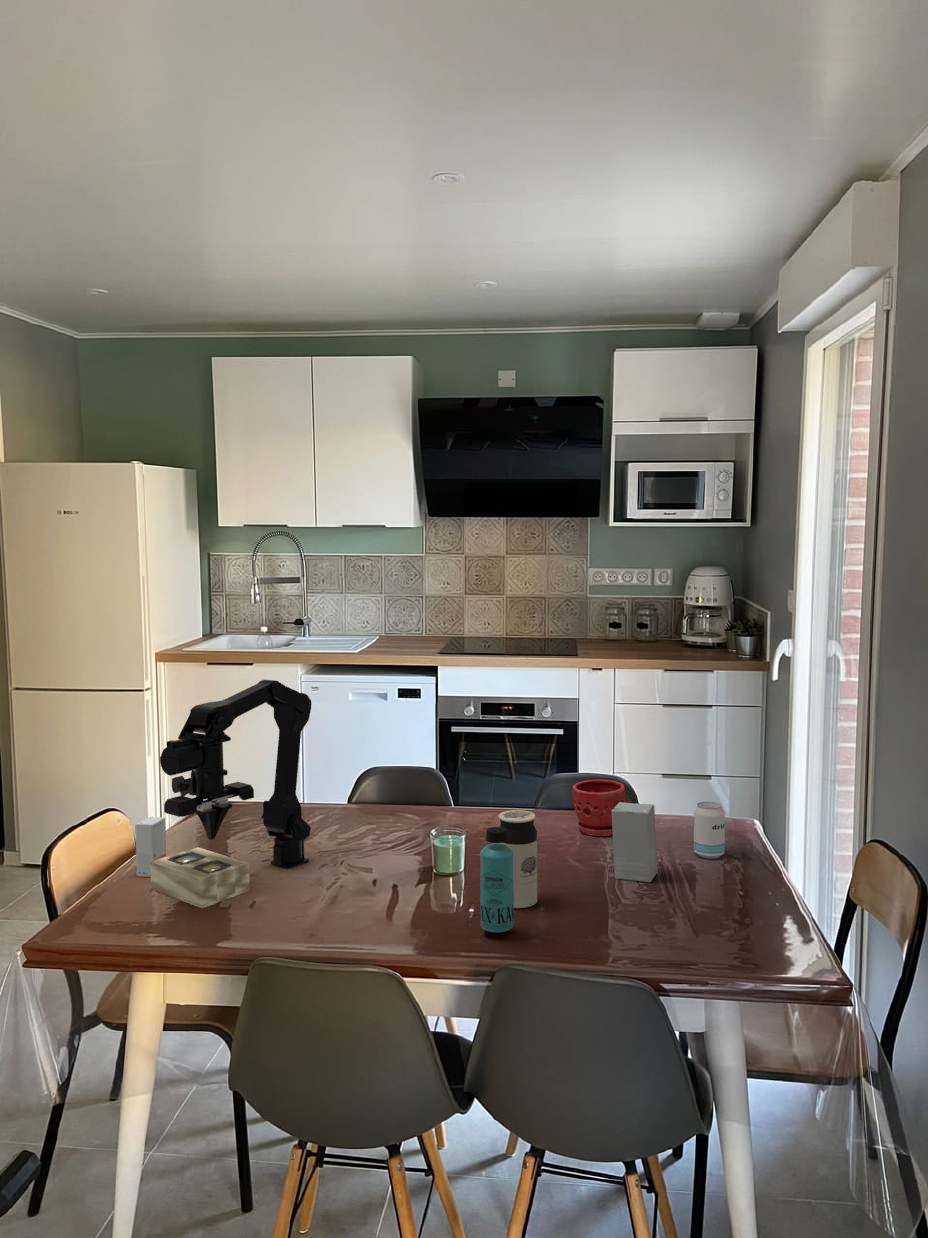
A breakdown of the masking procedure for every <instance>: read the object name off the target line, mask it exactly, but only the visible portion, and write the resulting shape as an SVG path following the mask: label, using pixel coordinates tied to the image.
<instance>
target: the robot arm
mask: <svg viewBox="0 0 928 1238" xmlns="http://www.w3.org/2000/svg"><path fill="white" fill-rule="evenodd" d="M264 704H267V705H268V706H270V707H271V708H273V718H274V722H275V723H276V726H277V728H278V742H277V744H278V745H277V751H276V752H277V754H276V765H275V779H274V786H273V787H274V788H273V793H272V795H271V797H270V798H269V799H268V800H264V801H263V802H262V803H263V805H262V807H263V810H262V814H261V815H262V816H261V817H260V818H261V819H262V821H263V822H262V823H263V826H264V827H265V828H266V832H267V834H268V836H269V837H274V840H273V842H274V844H273V846H272V850H273V860H270V864H272V865H275V866H279V867H282V868H285V869H291V868H295V867H298V866H300V865H303V864H306V863H308V862H310V859H309V858H307V857H305V840H306V838H309V837H310V834H311V829H312V827H311V826H310V825H309V824H308V823H307V822H306V821H305V820H304V819H303V816H302V805H301V803H300V800H299V799H298V796H297V783H298V773H299V772H298V771H299V761H300V760H299V759H300V751H301V749H300V748H301V737H302V731H303V730H304V729H305V727H306V725H307V723H308V722H309V721H310V720H309V719H310V716H311V711H312V699H311V698H310V697H309V695H308V694H307V693H304V692H300V691H297V690H296V689H293V688H291V687H288V686H286V685H285V684H284V683H282V682H280V681H279V680H273V679H262V680H260V681H258V682H257V683H256V684H253V685H252V686H250V687H248V688H246V689H244V690H241V691H239V692H237V693H235V694H233V695H231V696H229V697H227V698H224V699H222V700H218V701H217V700H216V701H209V702H208V701H207V702H205V703H204V702H203V703H200V704H196V705H194V706H193V707H192V708H191V709H190V710H189V711H190V713H189V714H188V717H187V719H186V721H185V723H184V725H183V727H182V729H181V731H180V733H179V735H178V737H177V739H176V740H173V739H172V740H171V739H170V740H167V741H166V747H165V748H163V749H162V751H161V752H160V753H161V754H160V756H159V763H160V768H161V769H162V771H163V772H164V773H165V775H168V776H170V777H172V776H175V775H179V774H180V776H175V777H173V778H171V790H172V792H173V793H174V794H177V793H180V794H179V795H178V796H174V797H171V798H167V799H166V801H165V802H164V804H163V811H164V814H168V815H172V816H175V817H178V818H183V817H187V816H191V815H194V814H196V816H198V819H199V820H200V822H201V824H202V827H203V829H204V831H205V834H206V836H207V838H208V840H209V841H210V840H212V841H213V840H214V839H216V836H217V834H218V832H219V831H220V830H219V829H220V827H221V825H222V823H223V820H225V818H226V815H227V814H228V812H229V811H230V809H231V808H233V804H232V803H229V799H232V798H235V797H239V799H240V800H241V801H247V800H251V799H254V797H255V790H254V787H253V786H252V785H251V784H249V783H245V782H239V781H236V782H231V783H227V784H225V776H228V770H227V769H224V743H226V742H230V741H231V737H230V736H229V735H228V734H226V732H225V731H226V730H227V729H228V728H230V727H231V726H232V725H233V723H234V721H235V720H236V719H237V718H239V717H240V716H242V715H244V714H246V713H248V712H250V711H252V710H254V709H256V708H258V707H260V706H262V705H264ZM187 772H190V777H188V778H184V776H183V775H181V774H183V773H187ZM186 795H188V796H192V797H187V796H186ZM193 796H195V797H193Z"/></svg>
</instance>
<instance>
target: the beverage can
mask: <svg viewBox="0 0 928 1238" xmlns="http://www.w3.org/2000/svg"><path fill="white" fill-rule="evenodd" d="M725 815H726V813H725V811H724V809H723V805H722V804H721V803H720V802H715V801H698V802H697V804H696V807H695V809H694V810H693V851H694V853H695V854H697V855H698V857H699V858H702V859H708V860H715V859H716V860H717V859H719V858H720V857H721V856H722V855H724V854H725V845H726V844H725V837H726V836H725V835H726V832H725V831H726V830H725V829H726V827H725V824H726V819H725V818H726V817H725Z"/></svg>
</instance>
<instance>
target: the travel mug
mask: <svg viewBox="0 0 928 1238" xmlns="http://www.w3.org/2000/svg"><path fill="white" fill-rule="evenodd" d="M498 819H499V822H500V823H499V827H503V828H506V829H507V833H508V841H507V842H504V843H497V844H504V845H507V846H508V847H509V848H510V849H511V850H512V851H513V852H514V856H513V881H514V909H526V908H530V907H532V906H534V905H535V904H537V902H538V830H537V828H536V826H535V824H534V822H535V819H536V814H535V813H534V812H531V811H529V810H528V811H527V810H521V809H519V810H517V809H512V810H506V811H502V812H500V813H499V814H498Z"/></svg>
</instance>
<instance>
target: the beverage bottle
mask: <svg viewBox="0 0 928 1238" xmlns="http://www.w3.org/2000/svg"><path fill="white" fill-rule="evenodd" d="M485 833H486V834H485V841H486V842H487V843H490V844H486V845H485V846H484V847H483V848H482V849H481V850H480V852H479V856H480V875H479V880H478V881H479V886H478V887H479V896H478V897H479V906H478V907H479V924H480V927H481V928H482V929H483V930H484V931H487V932H490V933H503V932H507V931H510V930H511V929H512V928H513V926H514V922H515V918H514V916H515V908H514V881H513V856H514V852H513V851H512V850H511V849H510V848H509V847H508V846H507V845H504V844H498V843H504V842H507V841H508V833H507V829H506V828H503V827H500V826H492V827H488V828H486V832H485Z"/></svg>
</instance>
